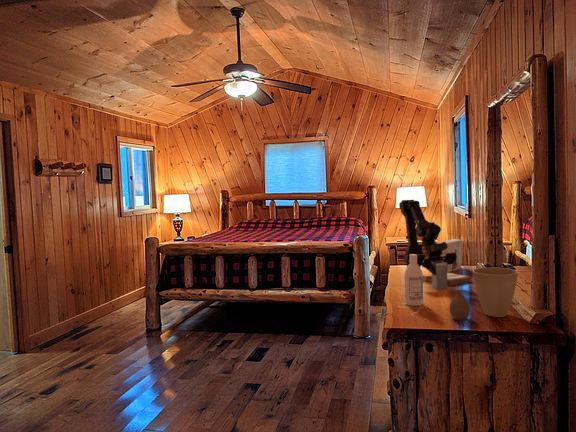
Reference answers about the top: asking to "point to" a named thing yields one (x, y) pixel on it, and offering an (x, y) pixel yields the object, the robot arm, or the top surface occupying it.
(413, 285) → the bath foam
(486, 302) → the plant pot
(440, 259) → the robot arm
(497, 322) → the top surface
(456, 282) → the stand
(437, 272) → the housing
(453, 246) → the skincare box
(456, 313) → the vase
